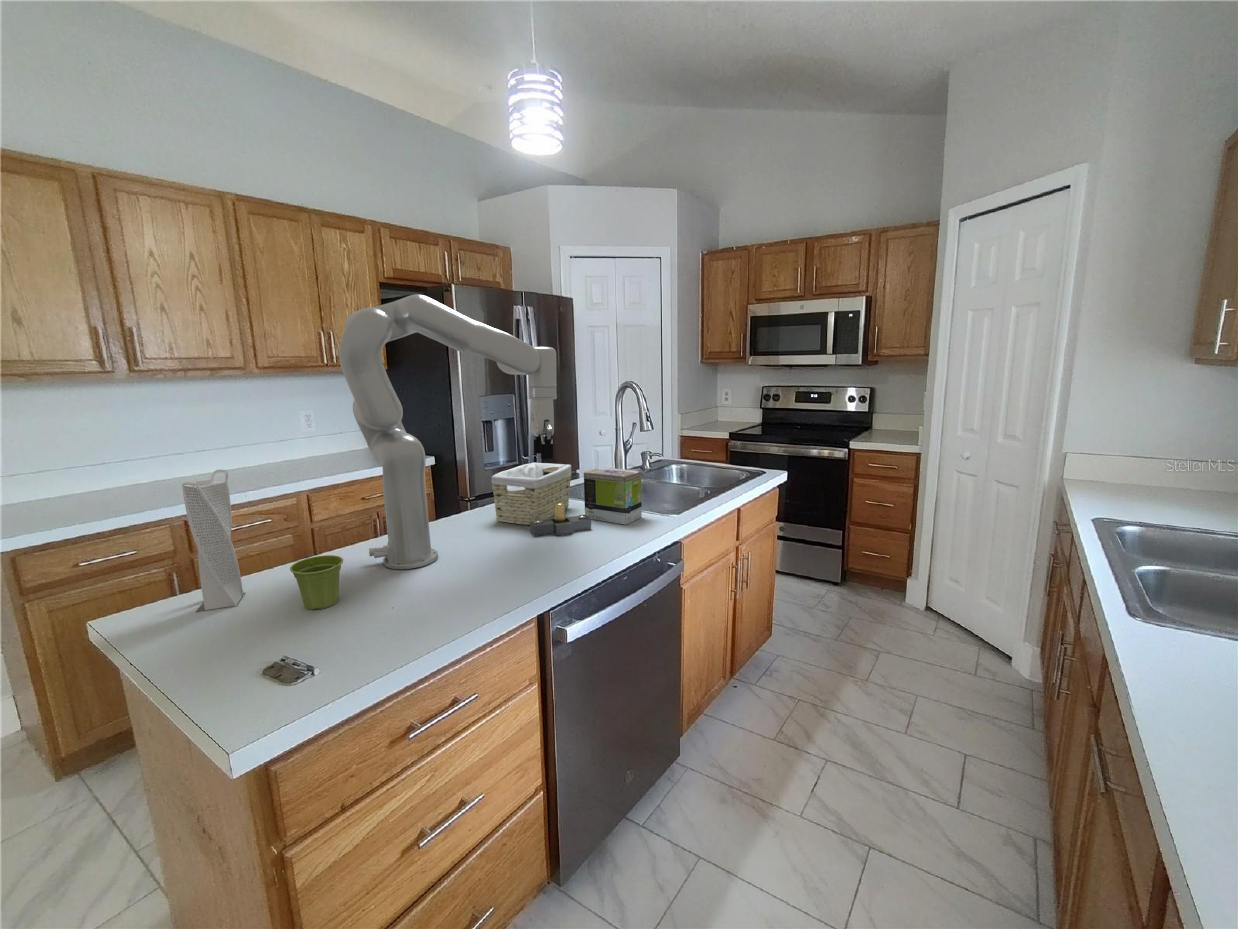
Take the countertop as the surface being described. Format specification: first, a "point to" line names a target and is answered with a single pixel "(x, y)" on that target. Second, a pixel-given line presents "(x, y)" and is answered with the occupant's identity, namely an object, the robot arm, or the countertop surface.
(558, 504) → the brass pin
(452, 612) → the countertop surface
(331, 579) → the plant pot
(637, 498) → the tea box
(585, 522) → the grey metal bracket
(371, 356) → the robot arm
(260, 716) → the countertop surface
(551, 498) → the storage basket
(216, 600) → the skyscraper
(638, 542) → the countertop surface
